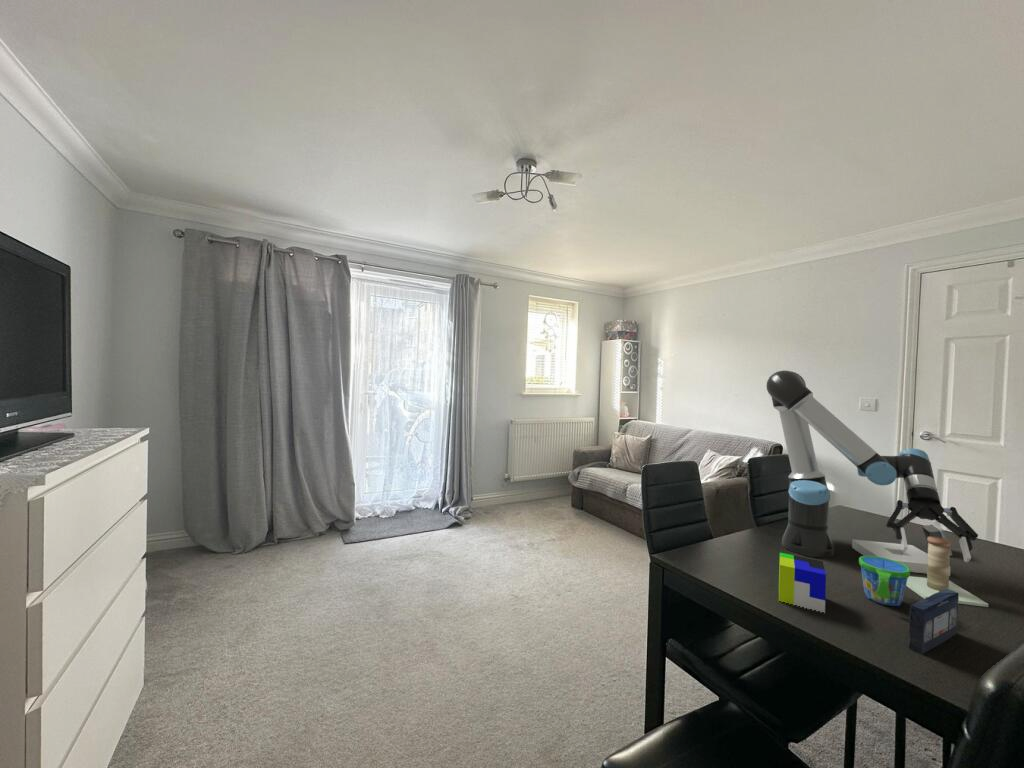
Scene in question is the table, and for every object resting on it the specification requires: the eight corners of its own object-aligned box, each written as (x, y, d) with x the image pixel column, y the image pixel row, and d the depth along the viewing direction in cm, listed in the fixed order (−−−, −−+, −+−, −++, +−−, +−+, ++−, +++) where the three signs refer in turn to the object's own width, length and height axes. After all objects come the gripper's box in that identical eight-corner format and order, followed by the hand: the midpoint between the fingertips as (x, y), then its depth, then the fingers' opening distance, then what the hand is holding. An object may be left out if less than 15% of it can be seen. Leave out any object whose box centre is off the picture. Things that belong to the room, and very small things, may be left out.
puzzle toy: (824, 613, 109) (826, 574, 109) (778, 601, 114) (779, 564, 114) (821, 597, 117) (822, 561, 117) (778, 587, 123) (779, 552, 123)
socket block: (881, 568, 137) (882, 559, 137) (852, 547, 154) (852, 539, 154) (950, 576, 132) (950, 566, 132) (911, 553, 150) (911, 545, 150)
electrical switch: (953, 557, 148) (950, 530, 148) (932, 555, 150) (930, 528, 150) (941, 548, 156) (939, 522, 156) (923, 546, 158) (920, 521, 159)
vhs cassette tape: (922, 655, 93) (923, 609, 93) (905, 647, 95) (906, 603, 95) (960, 635, 101) (961, 593, 100) (943, 628, 103) (944, 588, 103)
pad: (925, 599, 117) (925, 596, 117) (893, 576, 131) (893, 574, 131) (988, 607, 114) (988, 604, 114) (949, 583, 127) (949, 580, 127)
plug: (932, 590, 121) (934, 541, 121) (921, 582, 125) (923, 535, 125) (953, 593, 120) (955, 543, 119) (942, 585, 124) (943, 537, 124)
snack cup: (906, 618, 107) (907, 578, 107) (853, 602, 115) (854, 564, 115) (911, 598, 118) (912, 561, 118) (862, 584, 125) (863, 550, 125)
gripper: (971, 504, 134) (991, 570, 122) (870, 492, 147) (878, 550, 135) (980, 492, 130) (1001, 559, 117) (874, 480, 142) (883, 539, 130)
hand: (935, 554), depth 126 cm, fingers open, 13 cm apart
